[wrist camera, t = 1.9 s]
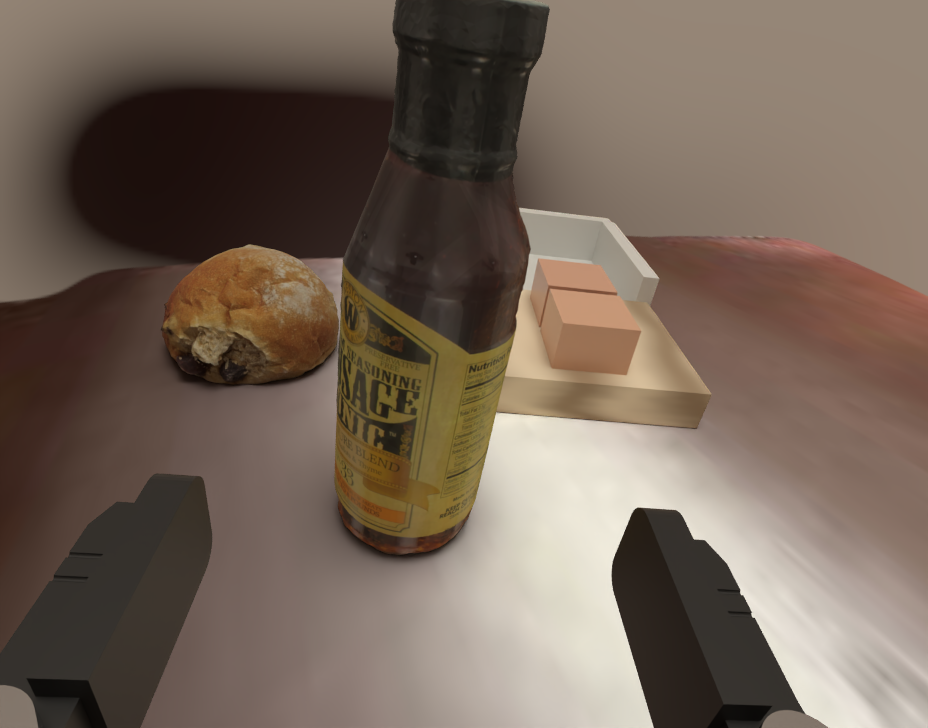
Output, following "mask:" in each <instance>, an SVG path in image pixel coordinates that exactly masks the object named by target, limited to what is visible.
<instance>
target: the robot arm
mask: <svg viewBox="0 0 928 728" xmlns="http://www.w3.org/2000/svg"><path fill="white" fill-rule="evenodd" d="M211 548H212V530H211V523H210V517H209V510H208V504H207V497H206V491H205V485H204V481H203V479H202V477H200V476H187V475H172V474H154V475H153V476H152V477H151V478H150V479H149V480H148V482H147V483H146V485H145V486H144V488H143V490H142V491H141V493H140V495H139V496H138V498H137V499H136V501H135V503H128V502H116V503H115V504H114V505H112V506H111V507H110V508H109V509H107V510H106V511H105V512H103V513H102V514H101V515H100V516H98V517H97V518H96V519H95V520H93V521H92V522H91V523H89V524H88V526H87V527H86V529H85V530H84V531H83V533H82V534H81V536H80V537H79V539H78V540H77V542H76V543H75V545H74V546H73V548H72V549H71V551H70V554H69V557H68V558H65V559H64V561H63V562H62V564H61V565H60V567H59V568H58V570H57V571H56V573H55V574H54V579H53V581H49V583H48V584H47V586H46V587H45V589H44V590H43V592H42V593H41V595H40V596H39V598H38V599H37V601H36V602H35V603H34V605H33V606H32V608H31V609H30V611H29V612H28V614H27V615H26V617H25V618H24V620H23V621H22V623H21V624H20V625H19V627H18V628H17V630H16V631H15V633H14V634H13V636H12V637H11V639H10V640H9V642H8V643H7V645H6V646H5V648H4V649H3V650H2V652H1V653H0V728H140V727H141V725H142V722H143V720H144V717H145V715H146V713H147V710H148V708H149V705H150V703H151V701H152V698H153V696H154V693H155V691H156V689H157V686H158V684H159V681H160V679H161V677H162V674H163V672H164V669H165V667H166V665H167V662H168V660H169V657H170V655H171V653H172V650H173V648H174V645H175V643H176V641H177V638H178V636H179V633H180V631H181V629H182V626H183V624H184V621H185V619H186V617H187V614H188V612H189V609H190V607H191V605H192V602H193V600H194V597H195V595H196V593H197V590H198V588H199V585H200V583H201V581H202V578H203V576H204V573H205V571H206V568H207V565H208V562H209V558H210V554H211ZM612 586H613V591H614V595H615V598H616V602H617V605H618V608H619V612H620V615H621V618H622V622H623V625H624V628H625V632H626V635H627V639H628V642H629V645H630V649H631V652H632V655H633V659H634V662H635V666H636V669H637V672H638V676H639V679H640V682H641V686H642V689H643V693H644V696H645V699H646V703H647V706H648V709H649V713H650V716H651V719H652V723H653V726H654V728H828V727H827V726H825V725H824V724H822V723H821V722H819V721H818V720H816V719H814V718H812V717H810V716H808V715H806V714H805V713H804V711H803V710H802V708H801V706H800V704H799V703H798V701H797V699H796V697H795V695H794V693H793V691H792V689H791V687H790V685H789V684H788V682H787V680H786V678H785V676H784V674H783V672H782V670H781V668H780V666H779V664H778V662H777V660H776V658H775V656H774V654H773V652H772V651H771V649H770V647H769V645H768V643H767V641H766V639H765V637H764V635H763V633H762V631H761V629H760V627H759V625H758V623H757V621H756V619H755V618H752V616H751V613H752V612H751V610H750V608H749V606H748V604H747V602H746V600H745V598H744V596H743V595H741V594H740V588H739V586H738V585H737V583H736V581H735V579H734V577H733V575H732V573H731V571H730V569H729V567H728V565H727V563H726V562H725V561H724V560H723V559H722V558H721V557H720V556H719V555H718V554H717V553H716V552H715V551H714V550H713V549H712V548H711V546H710V545H709V544H708V543H707V542H706V541H705V540H694V539H693V537H692V535H691V533H690V531H689V529H688V527H687V525H686V522H685V520H684V518H683V517H682V515H681V514H680V513H679V512H678V511H676V510H665V509H650V508H636V509H635V510H634V511H633V513H632V515H631V517H630V520H629V522H628V525H627V527H626V530H625V532H624V535H623V537H622V539H621V542H620V544H619V547H618V549H617V552H616V554H615V557H614V560H613V564H612Z"/></svg>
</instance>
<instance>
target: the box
mask: <svg viewBox="0 0 928 728" xmlns="http://www.w3.org/2000/svg"><path fill="white" fill-rule="evenodd" d="M519 209H520V215H521V217H522V219H523V222H524V225H525V227H526V230H527V234H528V237H529V243H530V247H531V251H530V254H529V260H528V268H527V273H526V279H525V283H524V285H523V290H531V289H532V285H533V280H534V275H535V270H536V266H537V261H538V258H540V259H549V260H558V261H567V262H576V263H585V264H594V265H601V266H602V268H603V270H604V271H605V273H606V274H607V276H608V278H609V279H610V281H611V283H612V284H613V286H614V287H615V289H616V291H617V292H618V294H617V296H620V297H621V299H622V300H628V301H637V302H647V303H648V304H649V306H650V305H651V302H652V299H653V296H654V293H655V290H656V287H657V284H658V281H659V278H658V276H657V275H656V274H655V273H654V271H653V270H652V269H651V268H650V266H649V265H648V264H647V263H646V261H645V260H644V259H643V258H642V256H641V255H640V254H639V253H638V251H637V250H636V249H635V248H634V246H633V245H632V244H631V243H630V242H629V240H628V239H627V238H626V237H625V235H624V234H623V233H622V232H621V231H620V229H619V228H618V227H617V225H616V224H615V223H613V222H611V221H610V220H609V219H608V218H607V219H606V218H599V217H591V216H583V215H574V214H565V213H557V212H549V211H541V210H532V209H524V208H519Z"/></svg>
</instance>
